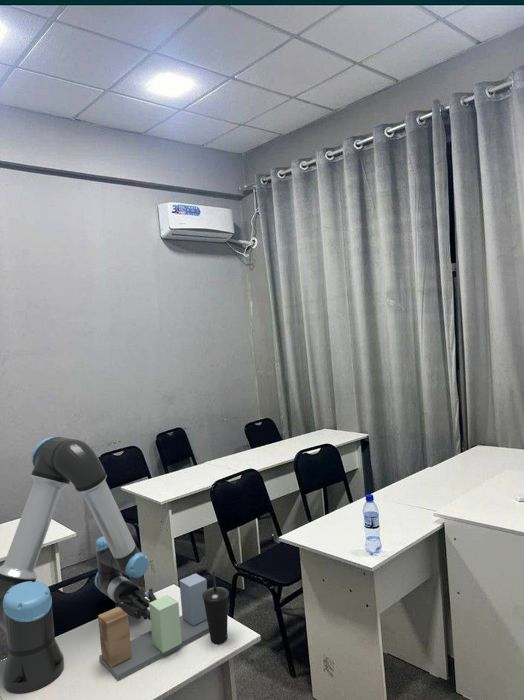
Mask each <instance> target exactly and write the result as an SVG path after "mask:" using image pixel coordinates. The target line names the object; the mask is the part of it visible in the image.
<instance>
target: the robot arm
mask: <svg viewBox="0 0 524 700" xmlns="http://www.w3.org/2000/svg"><path fill="white" fill-rule="evenodd" d="M31 462H32V466H33V469H32V472H31V474H30V477H31V479H32V481H33V484H32V487H31V490H30V493H29V494H28V498H27V500H26V503H25V506H24V508H23V511H22V514H21V517H20V519H19V522H18V525H17V527H16V530H15V533H14V536H13V538H12V542H11V543H10V546H9V549H8V553H7V555H6V557H5V561H3V564H2V565H0V628H1V629H2V630H3V631H5V634H6V644H7V653H8V654H7V658H6V662H5V667H4V669H3V677H2V678H3V686H4V688H5V689H6V691H8V692H10V693H16V694H24V693H29V692H33V691H36V690H39V689H41V688H43V687H46V686H48V685H49V684H51V683H52V682H53V681H55V680H56V679H57V678H58V677H59V676H61V674H62V672H63V670H64V669H65V659H64V654H63V652H62V650H61V649H60V646H59V644H58V643H57V641H56V638H55V625H54V615H53V605H52V604H53V600H52V599H53V598H52V594H51V591H50V587H49V586H48V585H47V584H45V583H44V582H42V581H36V580H37V579H38V578H37V577H38V576H37V574H36V572H35V567H36V565H37V562H38V559H39V556H40V554H41V550H42V548H43V546H44V542H45V540H46V538H47V537H46V536H47V534H48V531H49V527H50V526H51V525H50V524H51V522H52V519H53V516H54V513H55V511H56V507H57V505H58V502H59V499H60V496H61V493H62V491H63V489H65V488H66V487H68V486H69V485H70V483H71V484H72V485H73V487H74V489H75V491H76V492H77V493H81V494H82V496H83V498H84V501H85V502H86V504H87V507H88V509H89V510H90V512H91V515H92V516H93V519H94V520H95V523H96V524H97V526H98V529H99V530H100V532H101V535H102V536H100V537H99V538H97V539H96V541H95V555H96V561H97V572H96V575H95V576H94V585H95V586H96V588H97V590H98V591H100V592H101V593H102V594H104V595H105V596H106V597H108V599H111V600H112V601H113V602H114V603H115V608H116V607H119V608H121V609H122V610H123V611H124V612H126V613H127V614H128V617H131V618H134V619H136V620H140V619H141V617H142V618H143V621H146V620H149V621H151V619H150V608H149V603H150V602H152V601H155V600H157V599H158V598H157V597H156V595H155V594H154V590H153V588H149V589H148V591H145V590H143V589H140V588H139V586H138V585H137V584H135V583H134V582H133V581H131V580H129V579H128V578H129V577H131V578H134V579H138V578H142V577H143V576H144V575H145V574H146V573H147V571H148V570H149V566H150V560H149V557H148V556H147V554H145V553H144V552H141V551H139V549H138V547H137V545H136V543H135V540H134V538H133V536H132V534H131V532H130V530H129V527H128V526H127V523H126V521H125V519H124V517H123V515H122V513H121V510H120V508H119V506H118V505H117V502H116V500H115V498H114V496H113V494H112V491H111V489H110V487H109V485H108V482H107V481H106V479H107V477H108V475H107V472H106V471H105V468H104V466H103V464H102V463H101V460H100V459H99V456H98V455H97V454H96V452H95V450H93V449H92V447H91V446H90V445H89V444H87V443H86V442H85V441H83V440H80V439H74V438H68V437H64V436H63V437H62V436H50V437H47V438H44V439H43V440H41V441H40V442H38V443H37V444H36V446H35V447H34V449H33V451H32V453H31ZM125 576H126V577H125ZM127 577H128V578H127Z"/></svg>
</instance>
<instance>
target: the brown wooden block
mask: <svg viewBox="0 0 524 700" xmlns="http://www.w3.org/2000/svg"><path fill="white" fill-rule="evenodd" d="M97 619H98V629H99V639H100V640H99V642H100V651H101V653H100V654H101V655H102V658H103V659H104V660H105V662H106V663H107V664H108V665H109V666H110V667H113V666H115V665H117V664H119V663H121V662H123V661H125V660H127V659H129V658H131V657H132V654H131V643H130V640H131V635H130V623H129V616H128V614H127V613H126V612H124V611H123V610H122V609H121V608H119V607H116V606H115V608H112V609H109V610H108V611H105V612H103V613H99V614H98V615H97Z"/></svg>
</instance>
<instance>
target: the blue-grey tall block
mask: <svg viewBox="0 0 524 700" xmlns="http://www.w3.org/2000/svg"><path fill="white" fill-rule="evenodd" d="M207 581H208V580H207V578H205V577H203V576H201V575H199V574H198V573H192V574H191V575H188V576H186V577H184V578H181V579H180V580H178V582H179V591H180V594H179V595H180V603H181V604H180V605H181V616H182V618H183V619H184V620H186V621H187V622H188V623H190V624H191V625H193V626H194V625H196V624H198V623H200V622H202V621H204V620H206V619H207V616H206V610H205V605H204V600H203V598H202V594H203V592H204V591H206V590H208V584H207V583H208V582H207Z"/></svg>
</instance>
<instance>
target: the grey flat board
mask: <svg viewBox="0 0 524 700" xmlns="http://www.w3.org/2000/svg"><path fill="white" fill-rule="evenodd" d="M179 616H180V627H181V639H182V643H181V644H179V645H177V646H176V647H174V648H172V649H170V650H168V651H166V652H164V653H163V652H162V651H160V650H159V649H158V648H157V647H156V646H154V645H153V641H152V630H151V629H150V630H149V631H147V632H145V633H143V634H141V635H139V636H137V637H134V638H133V639H130V643H131V654H132V657H131V658H129V659H127V660H125V661H123V662H121V663H119V664H117V665H115V666H113V667H110V666H109V665H108V664H107V663H106V662H105V660H104V659H103V658H102V654H100V655H98V657H99V662H100V664H102V665H103V666H104V668H105V669H107V671H109V673H110V674H111V675H112V676H113V677H114V678H115V679H116V681H121V680H123V679H125V678H126V677H129V676H130V675H132V674H134V673H136V672H138V671H140V670H142V669H143V668H145V667H147V666H149V665H151V664H153V663H155V662H157V661H159V660H160V659H162V658H164V657H166V656H168V655H170V654H172V653H173V652H176V651H177V650H179V649H181V648H183V647H185V646H187V645H188V644H191V643H193V642H195V641H196V640H198V639H200V638H202V637H203V636H206V635H207V634H210V633H209V627H208V622H207V619H206V620H204V621H202V622H200V623H198V624H196V625H194V626H193V625H191V624H190V623H188V622H187V621H186V620H184V619H183V618H182V615H179Z"/></svg>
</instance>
